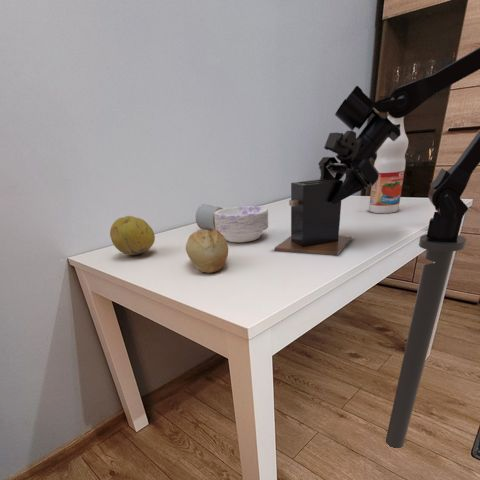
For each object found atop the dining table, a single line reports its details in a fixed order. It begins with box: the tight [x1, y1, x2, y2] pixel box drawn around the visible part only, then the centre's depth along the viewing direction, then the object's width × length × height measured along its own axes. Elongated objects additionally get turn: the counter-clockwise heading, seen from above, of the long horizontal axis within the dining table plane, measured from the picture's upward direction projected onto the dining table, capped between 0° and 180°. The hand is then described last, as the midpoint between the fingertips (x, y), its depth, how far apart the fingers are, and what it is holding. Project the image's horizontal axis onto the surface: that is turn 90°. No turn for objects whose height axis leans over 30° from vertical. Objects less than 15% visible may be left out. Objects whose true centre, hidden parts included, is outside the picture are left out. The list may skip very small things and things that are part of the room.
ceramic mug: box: [195, 203, 224, 231], centre depth 110 cm, size 11×8×8 cm
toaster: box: [288, 178, 344, 247], centre depth 84 cm, size 12×7×14 cm, turn 106°
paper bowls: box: [214, 205, 269, 243], centre depth 97 cm, size 15×15×8 cm
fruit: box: [109, 215, 156, 256], centre depth 91 cm, size 11×12×10 cm
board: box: [274, 235, 352, 256], centre depth 88 cm, size 16×14×1 cm
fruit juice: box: [368, 114, 409, 214], centre depth 108 cm, size 9×9×28 cm
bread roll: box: [185, 228, 229, 274], centre depth 79 cm, size 10×15×8 cm, turn 17°
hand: (323, 200), depth 84 cm, fingers open, 9 cm apart
